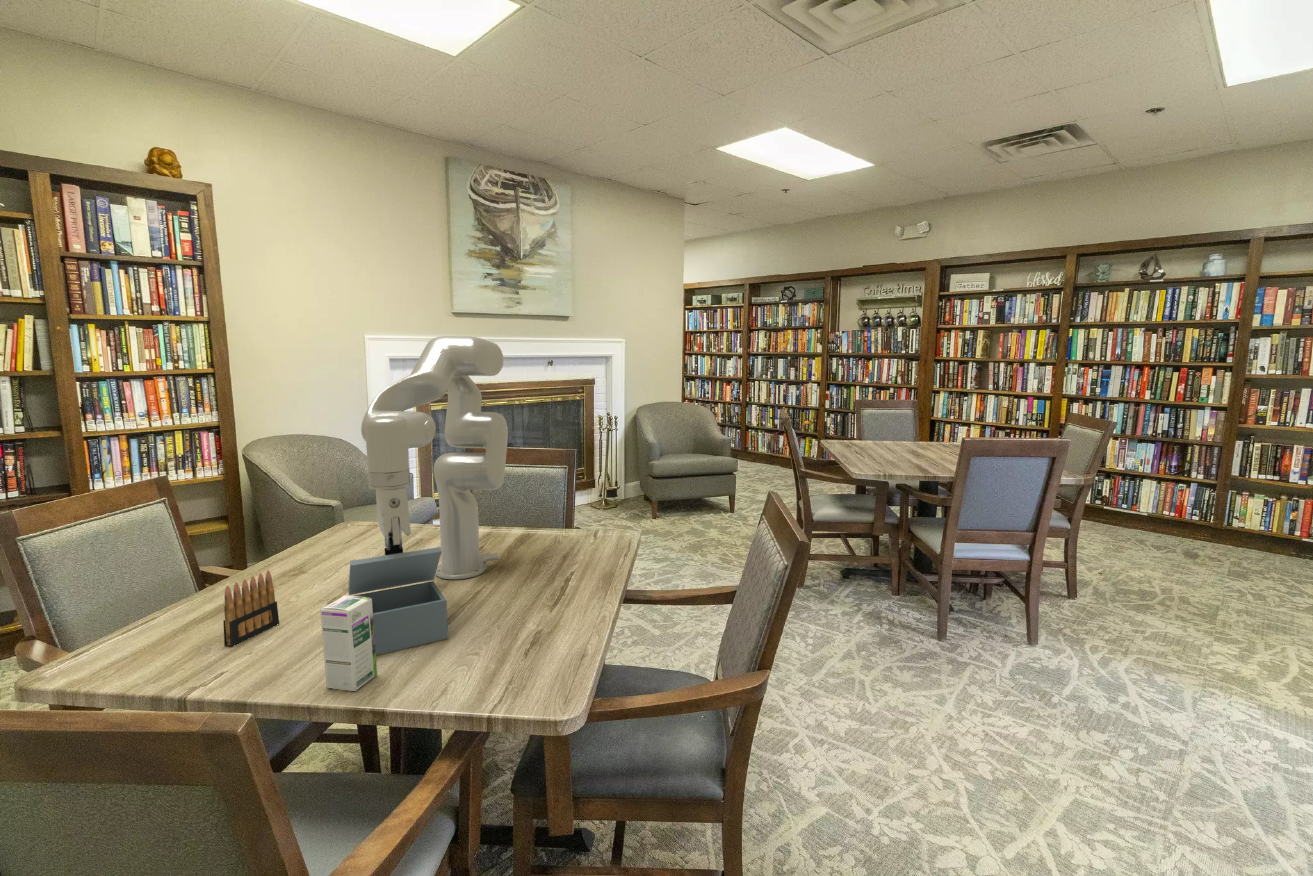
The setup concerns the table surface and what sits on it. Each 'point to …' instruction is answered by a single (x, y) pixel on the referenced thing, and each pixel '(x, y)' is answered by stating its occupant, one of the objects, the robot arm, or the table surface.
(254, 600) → the ammunition clip
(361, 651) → the syrup box
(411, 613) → the box
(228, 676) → the table surface
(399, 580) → the lid
